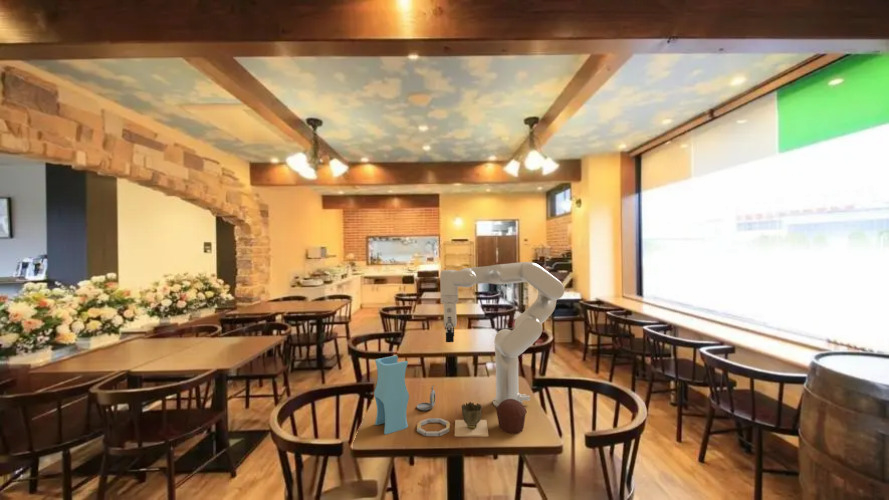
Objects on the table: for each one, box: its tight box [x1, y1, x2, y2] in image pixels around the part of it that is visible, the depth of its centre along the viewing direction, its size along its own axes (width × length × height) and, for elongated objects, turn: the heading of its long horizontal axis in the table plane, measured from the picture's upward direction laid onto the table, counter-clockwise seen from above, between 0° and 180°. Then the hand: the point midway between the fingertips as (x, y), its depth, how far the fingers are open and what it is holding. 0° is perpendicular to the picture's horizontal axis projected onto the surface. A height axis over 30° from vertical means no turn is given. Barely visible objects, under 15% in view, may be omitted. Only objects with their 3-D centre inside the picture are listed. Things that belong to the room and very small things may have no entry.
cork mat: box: [454, 419, 489, 438], centre depth 145 cm, size 12×12×1 cm
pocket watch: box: [416, 384, 436, 411], centre depth 164 cm, size 8×8×10 cm
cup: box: [461, 401, 483, 429], centre depth 145 cm, size 8×7×8 cm
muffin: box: [495, 399, 528, 434], centre depth 145 cm, size 12×11×10 cm
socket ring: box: [416, 417, 451, 437], centre depth 146 cm, size 12×12×1 cm
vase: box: [373, 354, 410, 435], centre depth 148 cm, size 10×10×25 cm
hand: (450, 339), depth 166 cm, fingers open, 9 cm apart
